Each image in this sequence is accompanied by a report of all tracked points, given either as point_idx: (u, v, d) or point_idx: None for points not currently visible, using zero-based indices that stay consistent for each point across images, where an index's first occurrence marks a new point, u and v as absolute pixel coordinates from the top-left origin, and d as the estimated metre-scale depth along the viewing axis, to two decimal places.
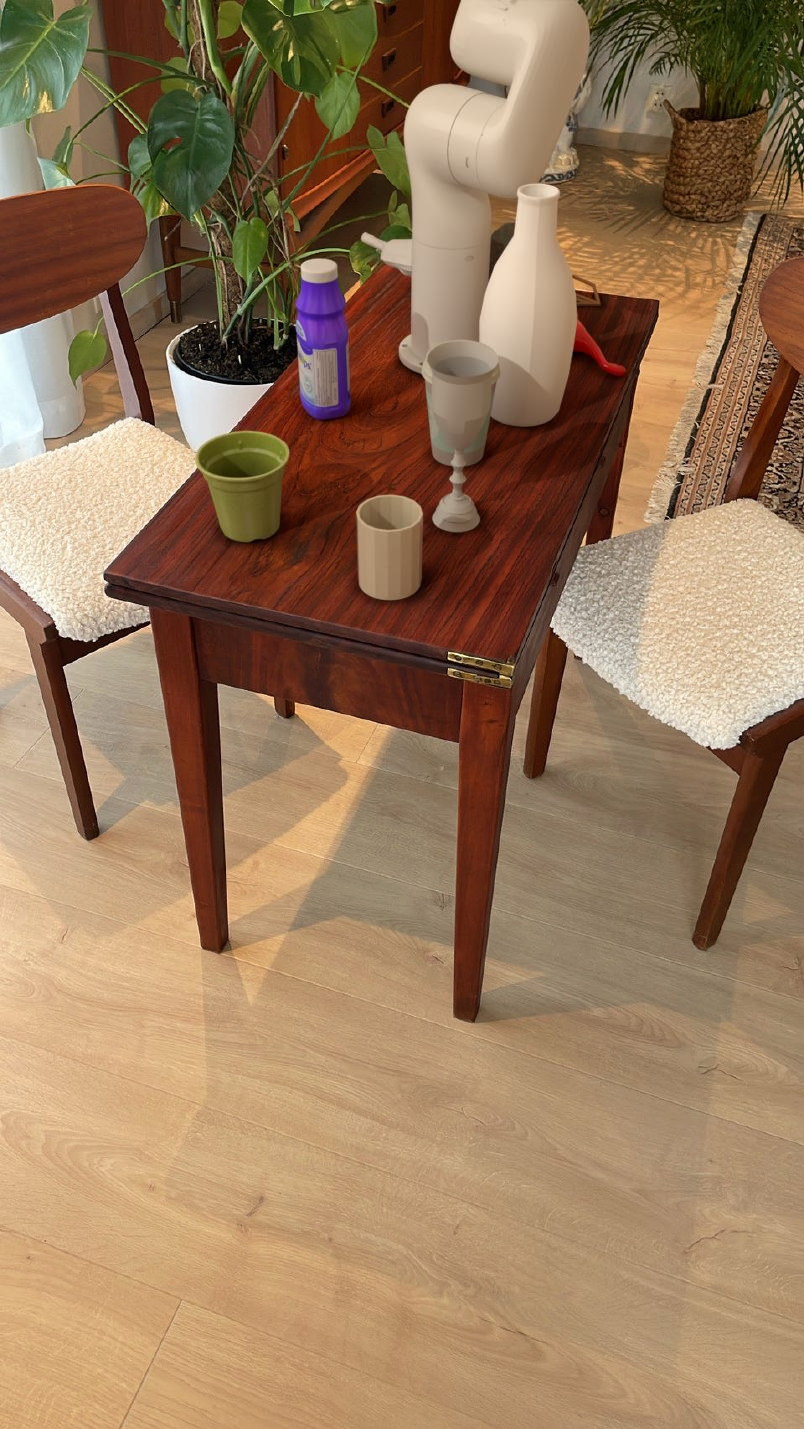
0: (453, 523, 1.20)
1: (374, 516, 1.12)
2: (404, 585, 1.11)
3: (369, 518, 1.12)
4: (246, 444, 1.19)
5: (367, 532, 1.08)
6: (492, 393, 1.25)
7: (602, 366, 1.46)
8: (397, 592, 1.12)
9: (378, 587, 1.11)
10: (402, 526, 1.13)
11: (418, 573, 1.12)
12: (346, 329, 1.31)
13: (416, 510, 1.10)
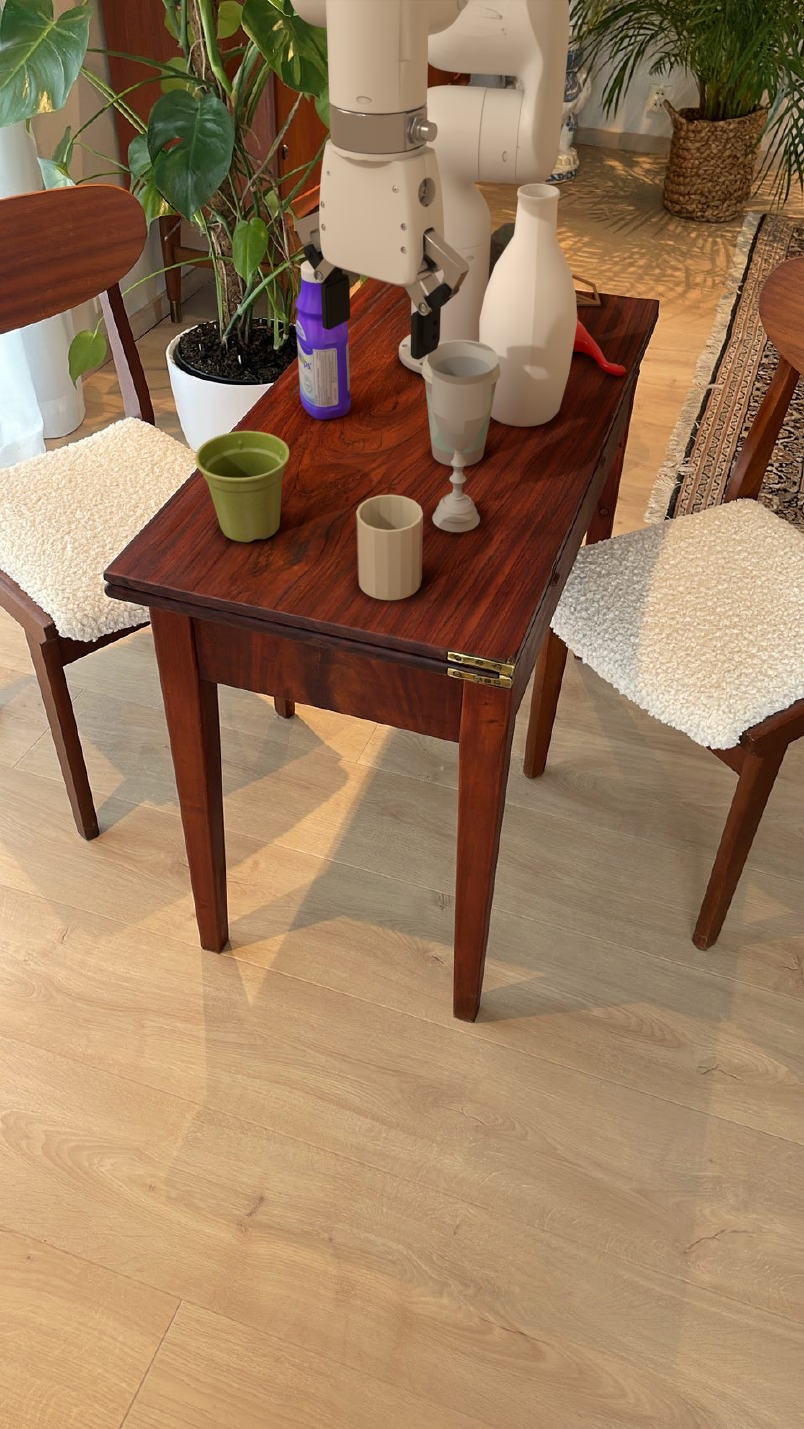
0: (453, 523, 1.20)
1: (374, 516, 1.12)
2: (404, 585, 1.11)
3: (369, 518, 1.12)
4: (246, 444, 1.19)
5: (367, 532, 1.08)
6: (492, 393, 1.25)
7: (602, 366, 1.46)
8: (397, 592, 1.12)
9: (378, 587, 1.11)
10: (402, 526, 1.13)
11: (418, 573, 1.12)
12: (346, 329, 1.31)
13: (416, 510, 1.10)
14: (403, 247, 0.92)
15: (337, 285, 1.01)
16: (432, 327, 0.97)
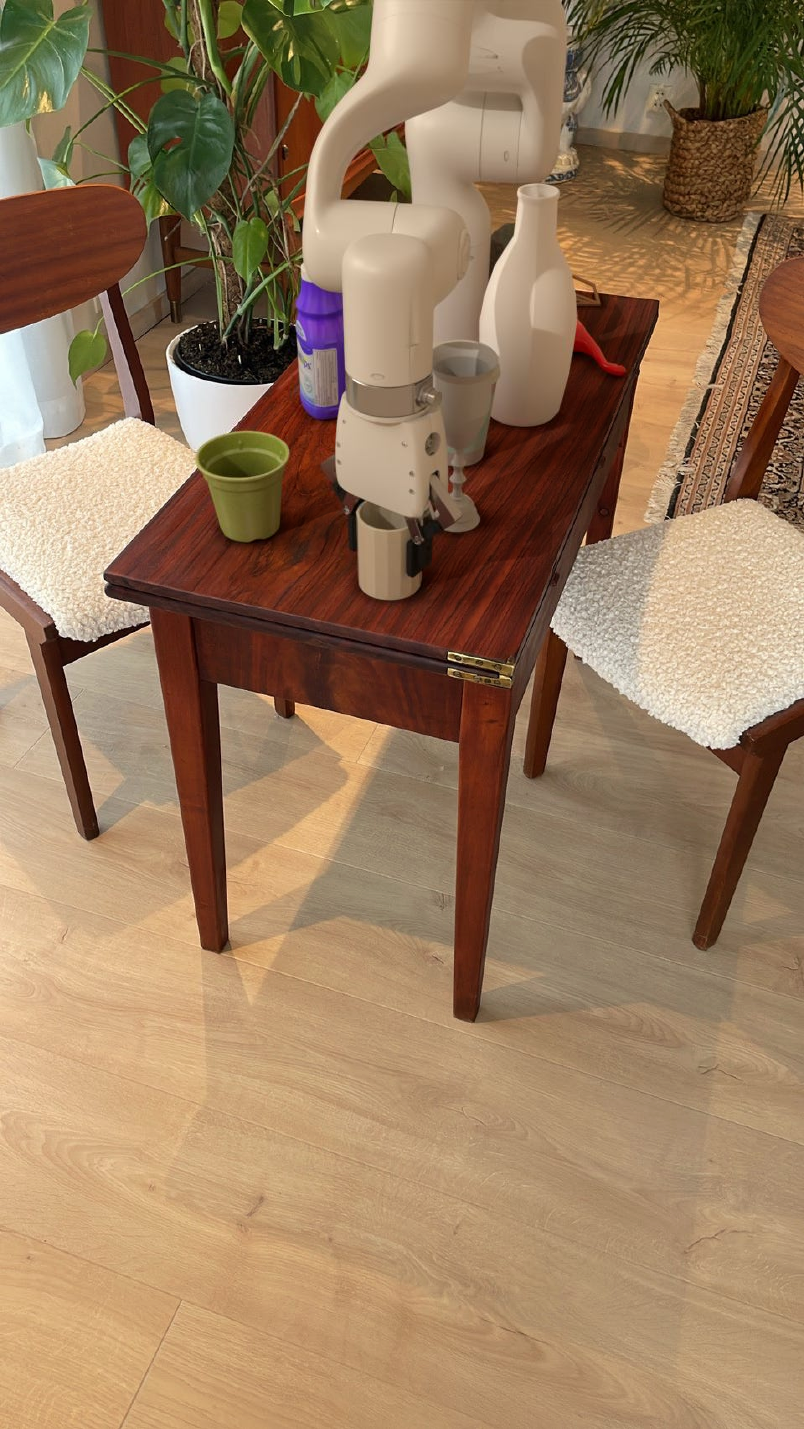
0: None
1: (374, 516, 1.12)
2: (404, 585, 1.11)
3: (369, 518, 1.12)
4: (246, 444, 1.19)
5: (367, 532, 1.08)
6: (492, 393, 1.25)
7: (602, 366, 1.46)
8: (397, 592, 1.12)
9: (378, 587, 1.11)
10: (402, 526, 1.13)
11: None
12: None
13: None
14: (411, 489, 1.03)
15: None
16: (425, 552, 1.09)
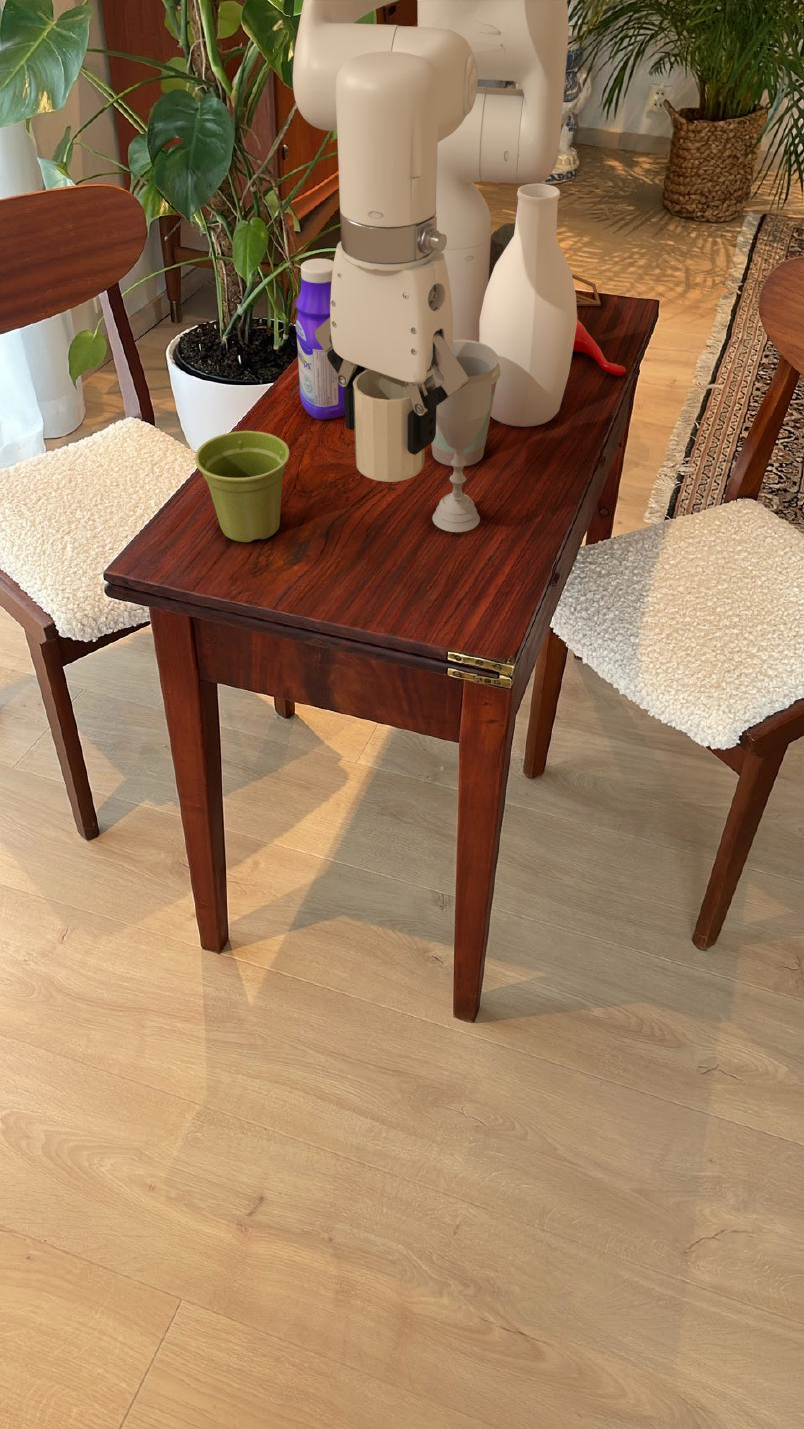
0: (453, 523, 1.20)
1: (373, 390, 1.03)
2: (405, 464, 1.03)
3: (367, 393, 1.03)
4: (246, 444, 1.19)
5: (365, 402, 0.99)
6: (492, 393, 1.25)
7: (602, 366, 1.46)
8: (398, 472, 1.03)
9: (377, 467, 1.03)
10: None
11: (420, 452, 1.03)
12: None
13: None
14: (413, 349, 0.94)
15: None
16: (428, 425, 1.00)
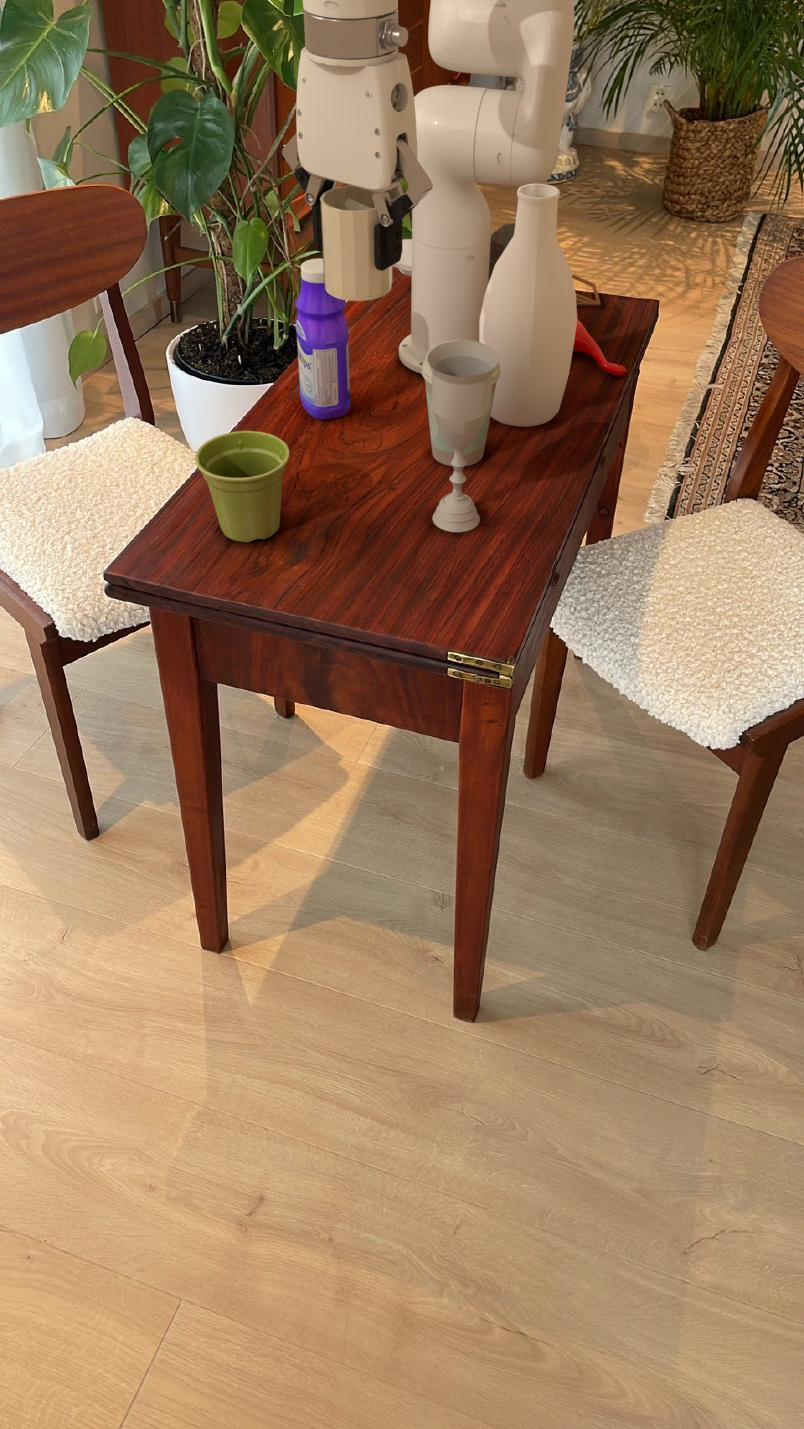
0: (453, 523, 1.20)
1: None
2: (373, 283, 1.04)
3: None
4: (246, 444, 1.19)
5: (332, 215, 1.01)
6: (492, 393, 1.25)
7: (602, 366, 1.46)
8: (365, 291, 1.05)
9: (345, 285, 1.04)
10: None
11: (388, 271, 1.05)
12: (346, 329, 1.31)
13: None
14: (377, 152, 0.96)
15: None
16: (394, 238, 1.02)
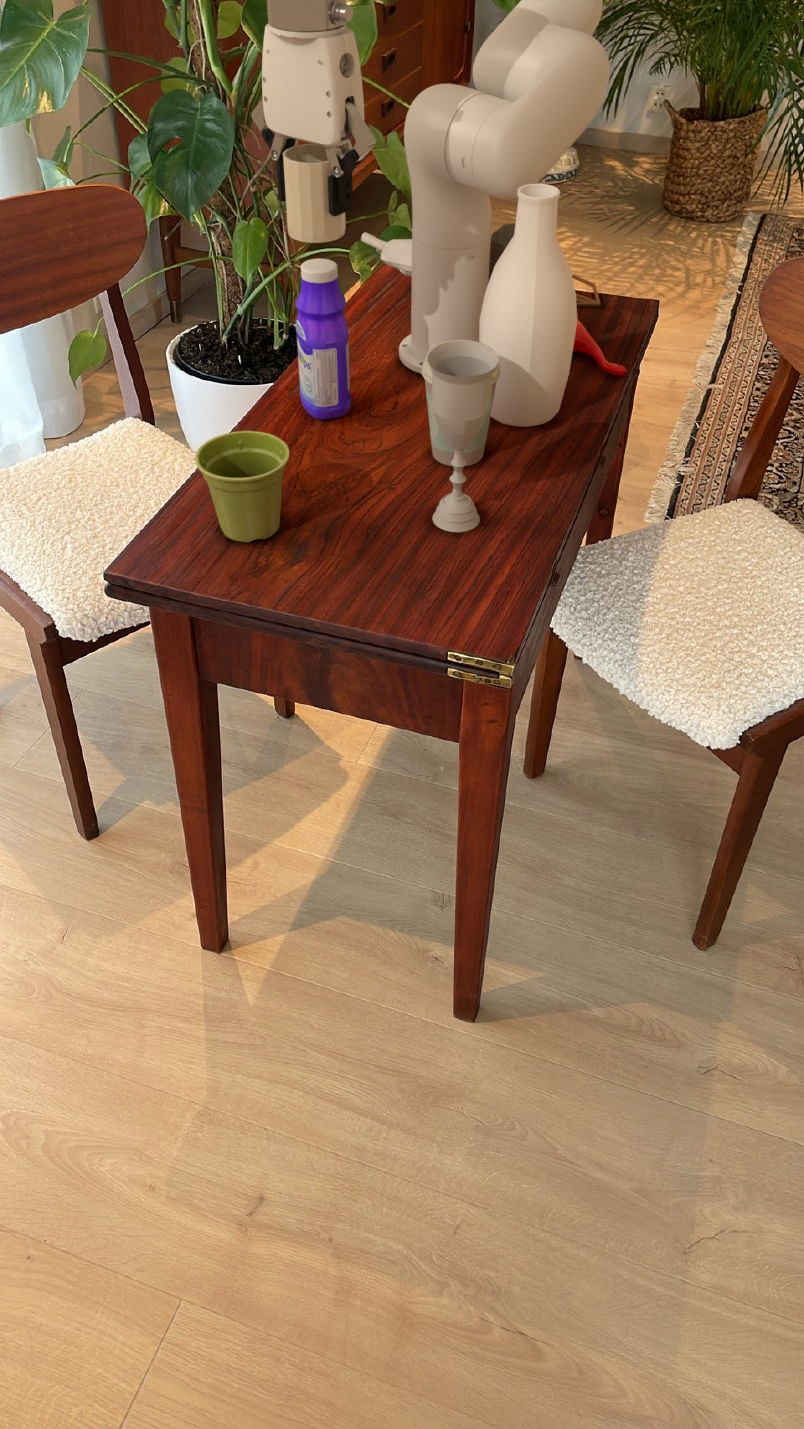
0: (453, 523, 1.20)
1: None
2: (328, 227, 1.22)
3: None
4: (246, 444, 1.19)
5: (292, 167, 1.18)
6: (492, 393, 1.25)
7: (602, 366, 1.46)
8: (321, 234, 1.22)
9: (304, 228, 1.22)
10: None
11: (341, 218, 1.23)
12: (346, 329, 1.31)
13: None
14: (329, 112, 1.13)
15: None
16: (345, 188, 1.19)
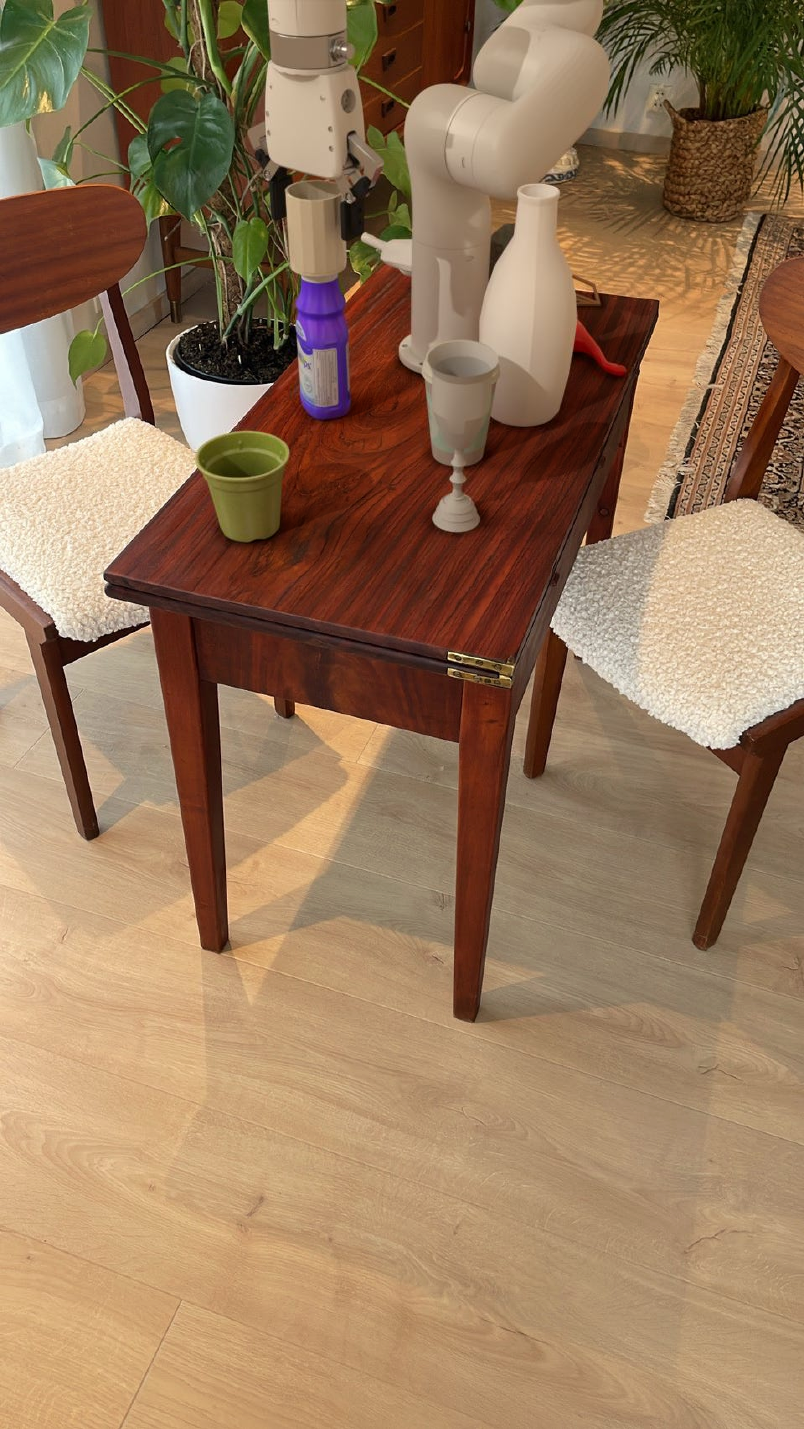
0: (453, 523, 1.20)
1: None
2: (329, 261, 1.25)
3: None
4: (246, 444, 1.19)
5: (294, 203, 1.21)
6: (492, 393, 1.25)
7: (602, 366, 1.46)
8: (323, 268, 1.25)
9: (306, 263, 1.25)
10: None
11: (342, 252, 1.25)
12: (346, 329, 1.31)
13: (339, 191, 1.23)
14: (331, 146, 1.15)
15: (282, 183, 1.24)
16: (357, 214, 1.20)
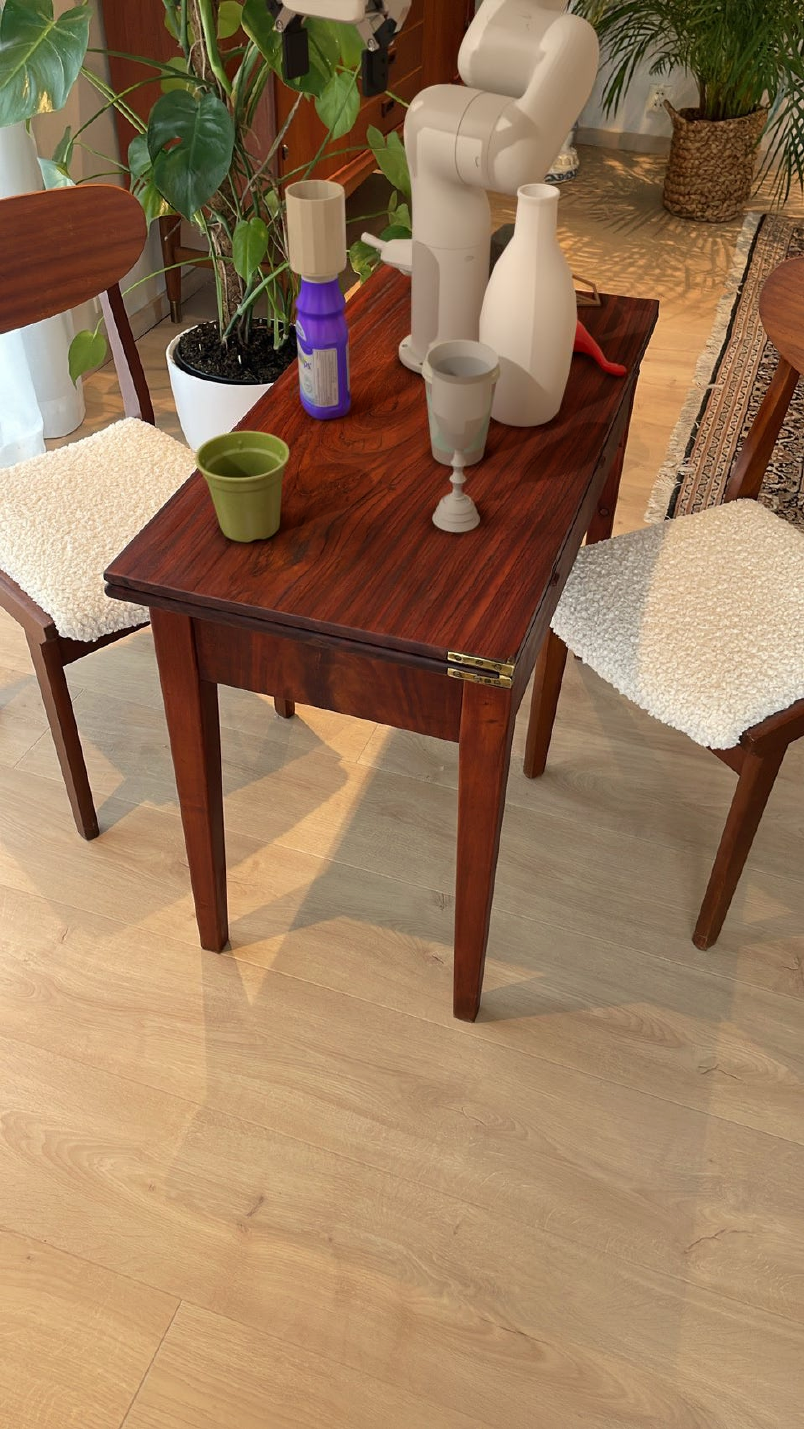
0: (453, 523, 1.20)
1: None
2: (329, 261, 1.25)
3: None
4: (246, 444, 1.19)
5: (294, 203, 1.21)
6: (492, 393, 1.25)
7: (603, 366, 1.46)
8: (323, 268, 1.25)
9: (306, 263, 1.25)
10: None
11: (342, 252, 1.25)
12: (346, 329, 1.31)
13: (339, 191, 1.23)
14: None
15: (296, 35, 1.12)
16: (380, 65, 1.08)
